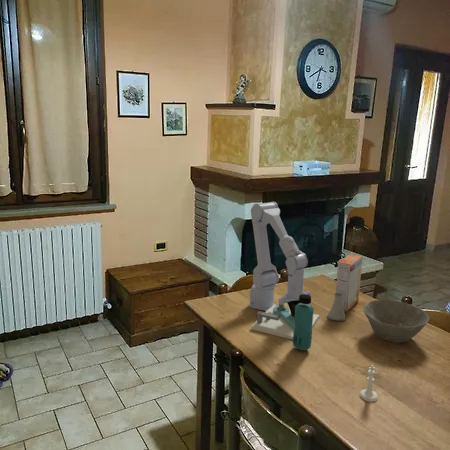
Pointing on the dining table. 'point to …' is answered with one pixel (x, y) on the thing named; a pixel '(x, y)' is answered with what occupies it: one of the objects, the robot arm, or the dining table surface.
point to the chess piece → (369, 387)
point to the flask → (337, 309)
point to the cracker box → (349, 280)
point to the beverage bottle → (303, 323)
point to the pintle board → (276, 323)
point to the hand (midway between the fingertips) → (293, 317)
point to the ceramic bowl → (395, 319)
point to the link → (284, 315)
